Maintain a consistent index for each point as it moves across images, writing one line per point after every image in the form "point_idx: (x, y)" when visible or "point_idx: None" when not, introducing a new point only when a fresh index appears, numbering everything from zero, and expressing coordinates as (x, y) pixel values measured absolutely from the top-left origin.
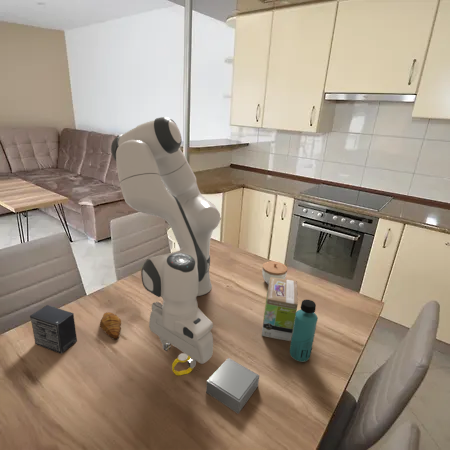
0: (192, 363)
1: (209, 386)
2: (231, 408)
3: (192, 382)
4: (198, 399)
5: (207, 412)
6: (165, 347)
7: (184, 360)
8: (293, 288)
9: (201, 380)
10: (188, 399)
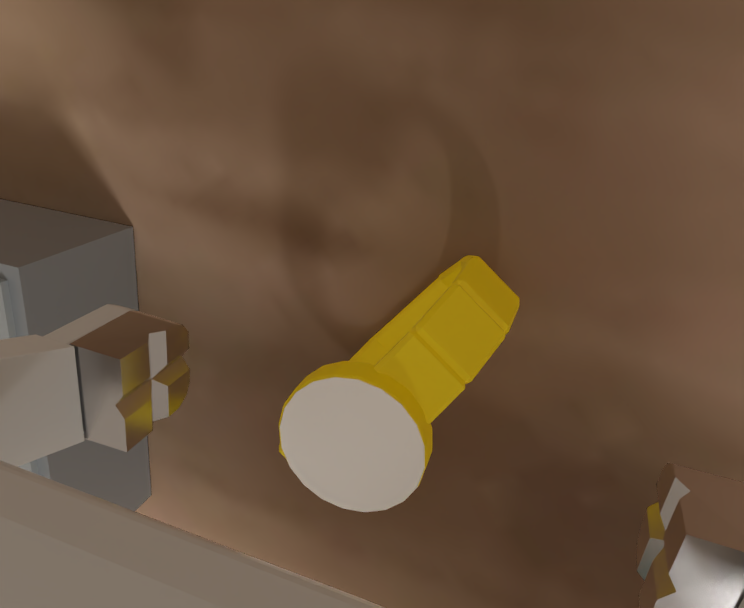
0: (5, 340)
1: (31, 246)
2: None
3: (283, 264)
4: (135, 128)
5: (12, 57)
6: (703, 522)
7: (293, 397)
8: None
9: (234, 318)
10: (198, 76)
